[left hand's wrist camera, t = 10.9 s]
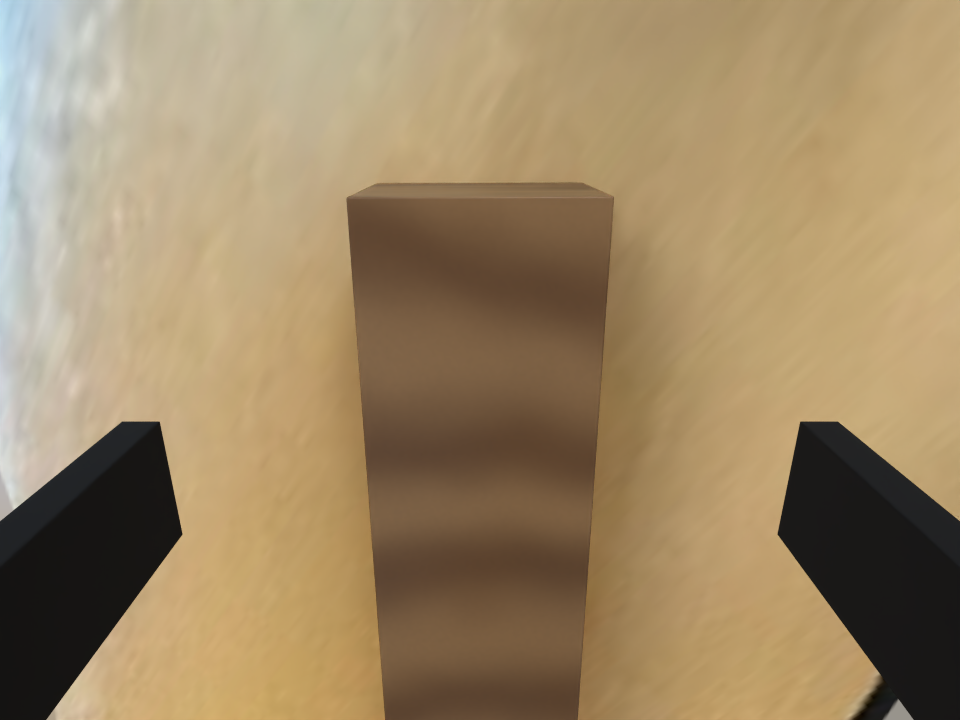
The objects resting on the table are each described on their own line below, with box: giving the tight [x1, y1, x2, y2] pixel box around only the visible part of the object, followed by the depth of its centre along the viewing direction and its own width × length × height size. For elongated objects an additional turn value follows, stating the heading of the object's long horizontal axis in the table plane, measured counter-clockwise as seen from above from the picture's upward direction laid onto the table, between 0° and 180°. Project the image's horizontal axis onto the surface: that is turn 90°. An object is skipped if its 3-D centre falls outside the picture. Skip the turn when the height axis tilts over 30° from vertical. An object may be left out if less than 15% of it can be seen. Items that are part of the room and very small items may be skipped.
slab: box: [347, 183, 614, 720], centre depth 36 cm, size 52×10×7 cm, turn 0°
